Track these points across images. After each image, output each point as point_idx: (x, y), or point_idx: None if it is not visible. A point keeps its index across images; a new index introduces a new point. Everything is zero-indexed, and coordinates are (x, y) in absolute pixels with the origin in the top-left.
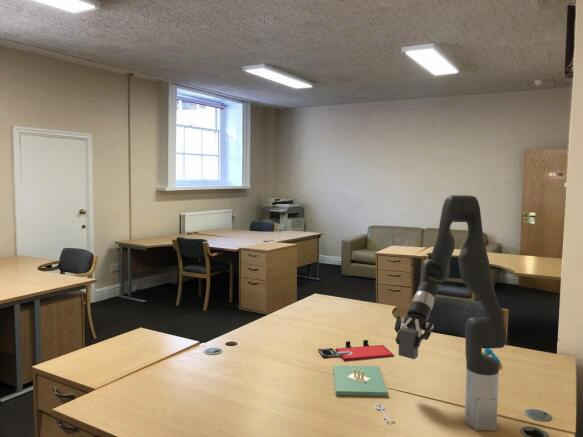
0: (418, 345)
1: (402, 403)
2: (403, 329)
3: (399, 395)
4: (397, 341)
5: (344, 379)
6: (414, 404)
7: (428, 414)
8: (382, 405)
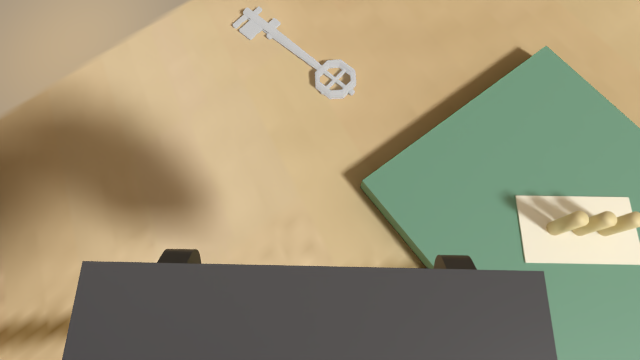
0: None
1: (274, 170)
2: (446, 343)
3: (320, 232)
4: (446, 255)
5: (612, 164)
6: (225, 196)
7: (144, 155)
8: (329, 90)
